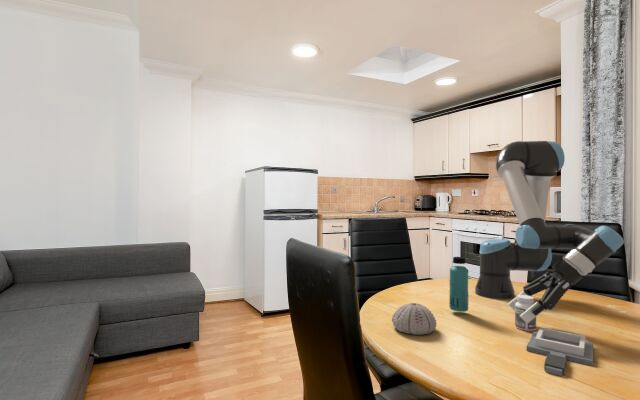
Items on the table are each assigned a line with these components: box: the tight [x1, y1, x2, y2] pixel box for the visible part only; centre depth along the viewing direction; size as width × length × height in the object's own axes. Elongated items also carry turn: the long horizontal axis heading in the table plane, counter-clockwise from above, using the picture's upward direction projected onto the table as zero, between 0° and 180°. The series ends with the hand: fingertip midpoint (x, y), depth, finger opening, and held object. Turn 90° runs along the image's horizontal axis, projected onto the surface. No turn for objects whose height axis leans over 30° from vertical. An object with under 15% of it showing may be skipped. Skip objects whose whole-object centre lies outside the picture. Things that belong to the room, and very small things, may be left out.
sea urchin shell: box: [391, 302, 437, 336], centre depth 111 cm, size 13×14×8 cm
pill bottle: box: [514, 294, 537, 332], centre depth 112 cm, size 6×6×10 cm
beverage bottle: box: [448, 256, 470, 313], centre depth 127 cm, size 6×7×20 cm
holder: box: [526, 326, 594, 377], centre depth 92 cm, size 14×25×3 cm, turn 142°
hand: (516, 313), depth 113 cm, fingers open, 12 cm apart
